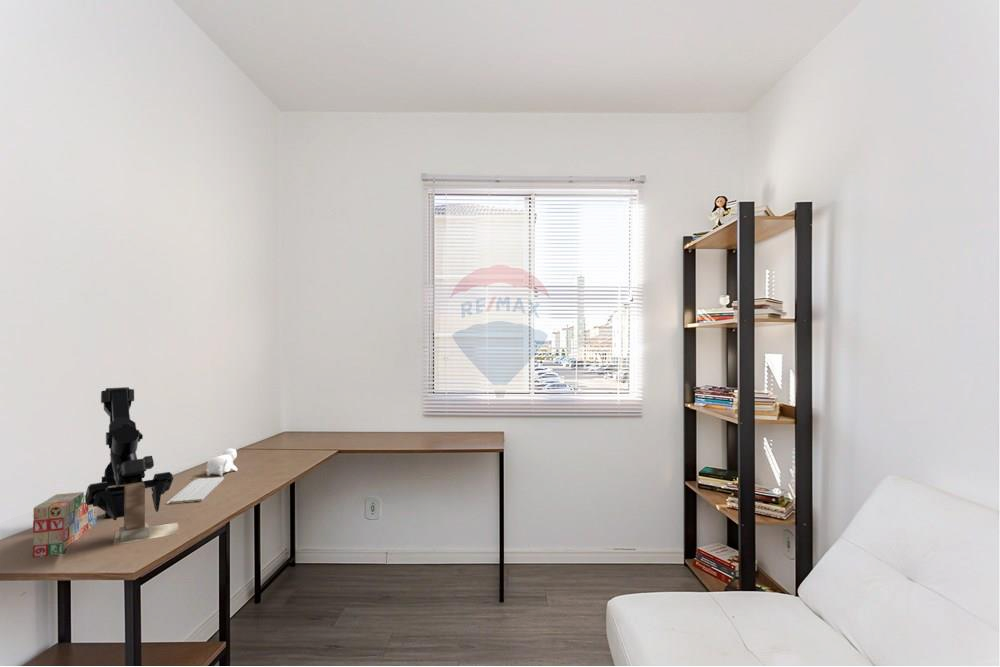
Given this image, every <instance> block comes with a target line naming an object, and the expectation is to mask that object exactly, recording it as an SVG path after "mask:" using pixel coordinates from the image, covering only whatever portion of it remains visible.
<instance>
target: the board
mask: <svg viewBox="0 0 1000 667" xmlns="http://www.w3.org/2000/svg"><path fill="white" fill-rule="evenodd" d="M149 527H150V537H146V538H141V539H136V540H131V541H126V542H121V540H120V538H119V531H115V535H114V540H113V546H114V545H122V544H128V543H134V542H140V541H146V540H152V539H156V538H157V539H159V538H164V537H169V536H175V535H180V528H179V522H177V521H176V522H173V523H172V522H171V523H167V524H158V525H154V526H152V525H151V526H149Z"/></svg>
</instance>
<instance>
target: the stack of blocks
mask: <svg viewBox="0 0 1000 667" xmlns="http://www.w3.org/2000/svg"><path fill="white" fill-rule="evenodd" d="M85 495H86V494H85V492H84V491H79V492H67V493H56V494H54V495H52V496H51V497H49V498H47V500H44V501H43V502H41V503H39V504H38V505H36V506H34V507H33V515H32V516H33V520H32V521H33V522H32V533H33V534H32V535H33V538H32V541H33V542H32V558H33V557H35V558H41V557H40V556H44V557H49V556H48V555H53V556H59V555H58V554H62V555H64V554H65V553H66V551H67V548H68V546H70V545H72V544H73V543H74V542H75V541H76V540H78V539H79V538H80V537H81V536H82V535H83V534H84V533H86V532H87V531H88V530H90V529H91V528H92V527H94V526H95V525H96V524H98V506H96V507H94V506H93V505H86V501H85Z"/></svg>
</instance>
